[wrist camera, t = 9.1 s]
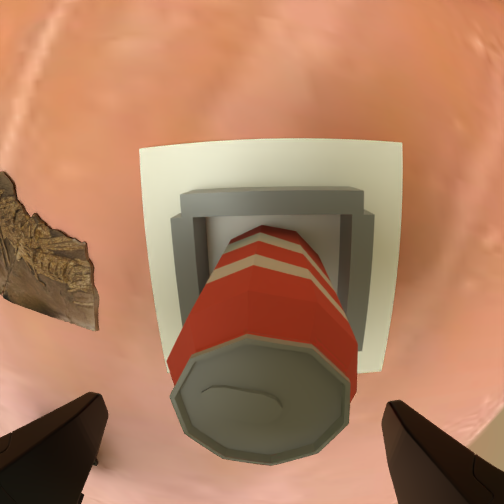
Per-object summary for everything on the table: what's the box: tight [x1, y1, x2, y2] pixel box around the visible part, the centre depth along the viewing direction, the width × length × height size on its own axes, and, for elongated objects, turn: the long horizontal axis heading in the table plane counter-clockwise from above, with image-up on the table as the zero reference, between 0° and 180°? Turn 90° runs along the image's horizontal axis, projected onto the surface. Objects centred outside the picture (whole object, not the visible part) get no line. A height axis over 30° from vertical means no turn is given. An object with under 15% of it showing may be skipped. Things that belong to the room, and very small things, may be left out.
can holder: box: [139, 138, 403, 373], centre depth 19 cm, size 16×16×4 cm
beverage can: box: [166, 225, 358, 466], centre depth 14 cm, size 6×6×12 cm
